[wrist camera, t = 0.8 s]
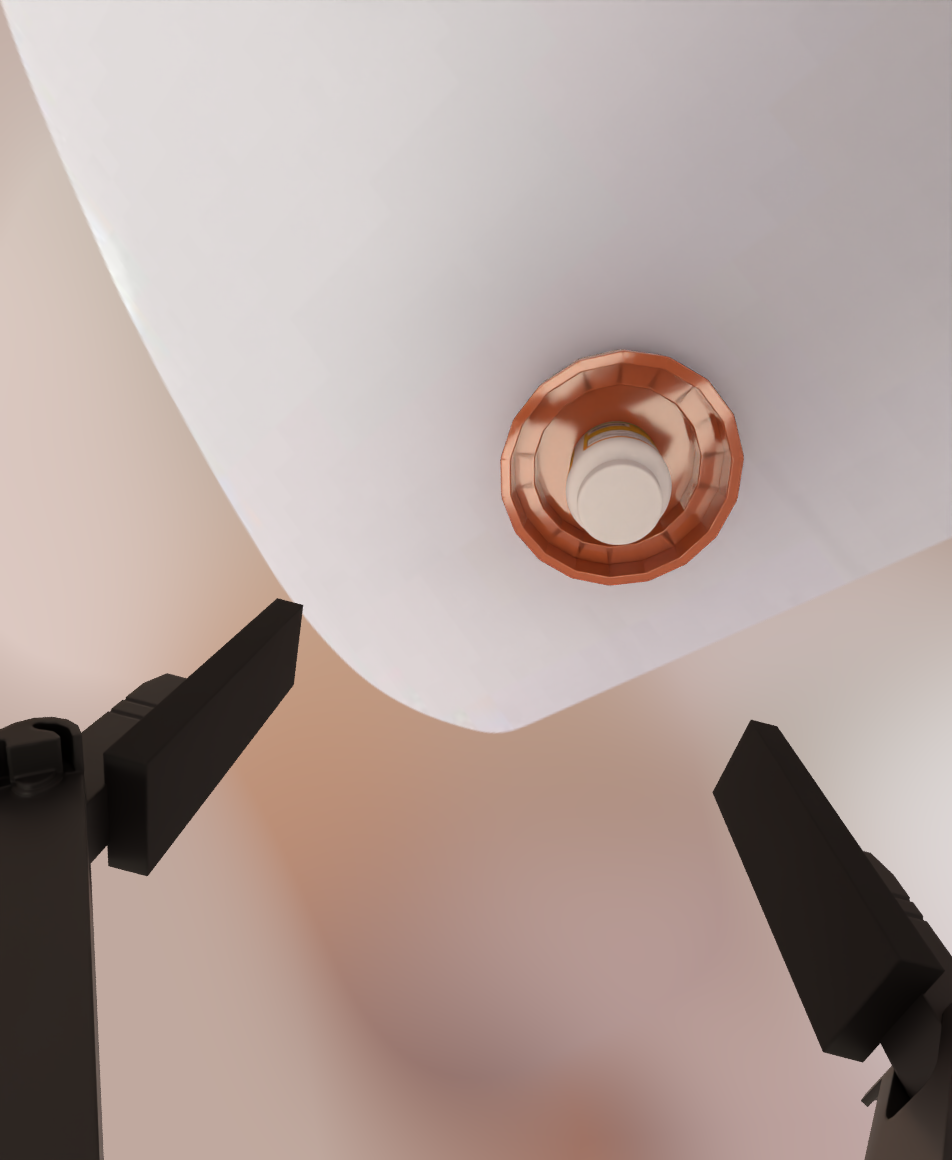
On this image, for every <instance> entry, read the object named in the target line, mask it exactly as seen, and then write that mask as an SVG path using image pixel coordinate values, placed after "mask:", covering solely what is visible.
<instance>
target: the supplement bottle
mask: <svg viewBox="0 0 952 1160" xmlns="http://www.w3.org/2000/svg"><path fill="white" fill-rule="evenodd" d="M671 488H672V484H671V476H670V473H669V470H668V467H667V465H666V463H665V461H664V459H663V458H662V456H661V454H660V453H659V451H658V449H657V447H656V446H655V444H654V442H653V441H652V439H651V438H650V437H649V435H648V434H647V433H646V432H645V431H644V430H642V429H641V428H639V427H638V426H636V425H634V424H631V423H627V422H622V421H611V422H606V423H602V424H600V425H597V426H595V427H594V428H592V429H590V430H589V431H588V432H586V433H585V434H584V435H583V436H582V437H581V439H580V440H579V441H578V443H577V444H576V446H575V448H574V451H573V453H572V457H571V461H570V467H569V472H568V476H567V482H566V499H567V504H568V507H569V510H570V512H571V514H572V516H573V517H574V519H575V520H576V522H577V523H578V524H579V525H580V526H581V527H582V528H584V529H585V530H586V531H587V532H588V533H589V534H590V535H591V536H592V537H594V538H595V539H597V540H599V541H601V542H604V543H607V544H612V545H624V544H629V543H633V542H636V541H638V540H640V539H642V538H643V537H645V536H646V535H647V534H648V533H650V532H651V531H652V529H653V528H654V527H655V526H656V524H657V523H658V521H659V519H660V518H661V516H662V515H663V514H664V512H665V510H666V508H667V506H668V503H669V500H670V497H671Z"/></svg>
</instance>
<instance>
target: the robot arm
mask: <svg viewBox="0 0 952 1160" xmlns="http://www.w3.org/2000/svg"><path fill="white" fill-rule="evenodd" d="M302 610H303V605H301V604H297V603H293V602H289V601H285V600H282V599H278V598H277V599H276V600H275V601H274V602H273V603H271V604H270V605H269V606H268V607H267V608H266V609H265V610H264V611H262V612H261V613H260V614H259V615H258V616H257V617H256V618H255V619H253V620H252V621H251V622H250V623H249V624H248V625H247V626H246V627H244V628H243V629H242V630H241V631H240V632H239V633H238V634H236V635H235V636H234V637H233V638H232V639H231V640H230V641H229V642H228V643H226V644H225V645H224V646H223V647H222V648H221V649H220V650H218V651H217V652H216V653H215V654H214V655H213V656H212V657H211V658H210V659H208V660H207V661H206V662H205V663H204V664H203V665H202V666H200V667H199V668H198V669H197V670H196V671H195V672H194V673H193V674H191V675H190V676H189V677H188V678H183V677H179V676H175V675H171V674H164V675H162V676H159V677H157V678H155V679H152V680H150V681H147V682H145V683H143V684H142V685H141V686H139V687H138V688H137V689H136V690H134V691H133V692H132V693H131V694H129V695H128V696H127V697H126V699H125V700H122V701H121V702H119V703H118V704H117V705H116V706H114V707H113V708H112V709H111V711H110V712H107V713H106V714H104V715H103V716H102V717H101V718H99V719H98V720H97V721H96V722H94V723H93V724H92V725H91V726H89V727H88V728H87V729H86V730H84V731H83V732H82V733H81V731H80V729H79V727H78V725H76V724H74V723H73V722H71V721H69V720H67V719H61V718H56V717H43V718H32V719H28V720H24V721H20V722H16V723H13V724H11V725H9V726H7V727H5V728H3V729H0V1160H104V1156H103V1135H102V1134H103V1133H102V1112H101V1088H100V1065H99V1045H98V1044H99V1042H98V1021H97V1020H98V1019H97V996H96V974H95V951H94V928H93V906H92V882H91V863H92V861H93V860H94V859H95V858H96V857H97V856H98V855H99V854H100V853H101V851H102V850H103V849H104V848H105V847H106V846H108V866H110V867H114V868H118V869H122V870H125V871H129V872H133V873H137V874H141V875H145V876H148V875H149V874H150V872H151V871H152V870H153V868H154V867H155V866H156V864H157V863H158V862H159V861H160V859H161V858H162V857H163V855H164V854H165V853H166V851H167V850H168V849H169V847H170V846H171V845H172V843H173V842H174V841H175V839H176V838H177V837H178V836H179V834H180V833H181V832H182V830H183V829H184V828H185V826H186V825H187V824H188V823H189V821H190V820H191V819H192V817H193V816H194V815H195V813H196V812H197V811H198V809H199V808H200V807H201V805H202V804H203V803H204V802H205V800H206V799H207V798H208V796H209V795H210V794H211V792H212V791H213V790H214V788H215V787H216V786H217V784H218V783H219V782H220V780H221V779H222V778H223V777H224V775H225V774H226V773H227V771H228V770H229V768H231V766H232V765H233V763H234V762H235V761H236V760H237V758H238V757H239V756H240V754H241V753H242V751H243V750H244V749H245V748H246V746H247V745H248V744H249V742H250V741H251V740H252V739H253V737H254V736H255V735H256V733H257V732H258V731H259V729H260V728H261V727H262V726H263V724H264V723H265V722H266V720H267V719H268V717H269V716H270V715H271V714H272V713H273V711H274V710H275V709H276V707H277V706H278V704H279V703H280V702H281V701H282V699H283V698H284V697H285V695H286V694H287V693H288V692H289V690H290V689H291V688H292V686H293V685H294V678H295V670H296V669H295V668H296V661H297V653H298V644H299V635H300V627H301V619H302ZM713 795H714V797H715V799H716V802H717V804H718V806H719V809H720V811H721V813H722V816H723V818H724V820H725V823H726V825H727V827H728V830H729V832H730V835H731V837H732V839H733V842H734V844H735V846H736V849H737V851H738V853H739V856H740V858H741V860H742V862H743V865H744V867H745V869H746V872H747V874H748V876H749V879H750V881H751V884H752V886H753V889H754V891H755V893H756V895H757V898H758V900H759V903H760V905H761V907H762V910H763V912H764V914H765V917H766V919H767V921H768V924H769V926H770V928H771V931H772V933H773V935H774V938H775V940H776V943H777V945H778V947H779V950H780V952H781V954H782V957H783V959H784V961H785V964H786V966H787V968H788V971H789V973H790V975H791V978H792V980H793V982H794V985H795V987H796V989H797V992H798V994H799V997H800V998H801V1001H802V1004H803V1006H804V1008H805V1011H806V1013H807V1015H808V1018H809V1020H810V1022H811V1024H812V1027H813V1029H814V1032H815V1034H816V1036H817V1039H818V1041H819V1043H820V1046H821V1048H822V1051H823V1052H825V1053H829V1054H832V1055H836V1056H840V1057H844V1058H848V1059H852V1060H856V1061H859V1062H864V1061H865V1060H866V1058H867V1057H868V1056H869V1055H870V1054H871V1053H872V1052H873V1050H874V1049H875V1048H876V1047H877V1046H878V1045H879V1044H880V1043H881V1045H882V1047H883V1049H884V1051H885V1053H886V1055H887V1057H888V1058H889V1060H890V1062H891V1064H892V1066H891V1067H890V1068H889V1070H888V1071H887V1072H886V1073H885V1074H884V1075H883V1076H882V1077H881V1078H880V1079H879V1080H878V1081H877V1082H876V1083H875V1084H874V1085H873V1087H872V1088H871V1089H870V1090H869V1091H868V1092H867V1093H866V1094H865V1096H864V1097H863V1099H862V1100H861V1101H862V1102H863V1103H864V1104H865V1105H866V1106H867V1107H868V1106H869V1105H870V1104H871V1103H872V1102H873V1101H874V1100H877V1104H876V1109H875V1113H874V1118H873V1123H872V1127H871V1132H870V1137H869V1141H868V1146H867V1151H866V1156H865V1160H952V956H951V955H950V953H949V952H948V950H947V949H946V948H945V947H944V945H943V943H942V942H941V941H940V939H939V938H938V936H937V935H936V934H935V932H934V931H933V929H932V928H931V927H930V925H929V924H928V922H927V921H924V920H923V915H922V914H921V913H920V911H919V910H918V908H917V907H916V906H915V904H914V903H913V902H910V900H909V899H910V897H909V896H908V895H907V893H906V892H905V890H904V889H903V888H902V886H901V885H900V883H899V882H898V881H897V879H896V878H895V876H894V875H893V874H892V873H891V872H890V871H889V870H888V869H887V868H886V867H885V866H884V865H883V864H882V863H881V862H880V861H879V860H877V859H876V858H875V857H874V856H873V855H872V854H871V853H869V852H865V851H862V849H861V848H860V846H859V845H858V843H857V842H856V840H855V839H854V837H853V836H852V835H851V833H850V832H849V830H848V829H847V827H846V826H845V824H844V823H843V822H842V820H841V819H840V817H839V816H838V814H837V813H836V811H835V810H834V808H833V807H832V805H831V804H830V803H829V801H828V800H827V798H826V797H825V795H824V794H823V792H822V791H821V789H820V788H819V787H818V785H817V784H816V782H815V781H814V779H813V778H812V776H811V775H810V773H809V772H808V771H807V769H806V768H805V766H804V765H803V763H802V762H801V760H800V759H799V757H798V756H797V755H796V753H795V752H794V750H793V749H792V747H791V746H790V744H789V743H788V742H787V740H786V739H785V737H784V736H783V734H782V733H781V731H780V730H779V729H778V727H777V726H774V725H770V724H765V723H761V722H758V721H754V720H751V721H750V722H749V724H748V726H747V728H746V730H745V732H744V734H743V736H742V738H741V739H740V741H739V743H738V745H737V747H736V749H735V751H734V753H733V755H732V757H731V758H730V760H729V762H728V764H727V766H726V768H725V770H724V772H723V774H722V776H721V777H720V779H719V781H718V783H717V785H716V787H715V789H714V791H713Z"/></svg>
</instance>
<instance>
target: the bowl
mask: <svg viewBox="0 0 952 1160" xmlns="http://www.w3.org/2000/svg"><path fill="white" fill-rule="evenodd" d="M611 421H622V422H627V423H631V424H634V425H636V426H638V427H639V428H641V429H642V430H644V431H645V432H646V433H647V434H648V435H649V437H650V438H651V439H652V441H653V442H654V444H655V446H656V447H657V449H658V451H659V453H660V454H661V456H662V458H663V459H664V461H665V463H666V465H667V467H668V470H669V473H670V476H671V484H672V488H671V497H670V500H669V503H668V506H667V508H666V510H665V512H664V514H663V515H662V516H661V518H660V519H659V521H658V523H657V524H656V526H655V527H654V528H653V529H652V531H651V532H650V533H648V534H647V535H646V536H645V537H643V538H642V539H640V540H638V541H636V542H633V543H629V544H624V545H612V544H607V543H604V542H601V541H599V540H597V539H595V538H594V537H592V536H591V535H590V534H589V533H588V532H587V531H586V530H585V529H584V528H582V527H581V526H580V525H579V524H578V523H577V522H576V520H575V519H574V517H573V516H572V514H571V512H570V510H569V507H568V504H567V499H566V482H567V476H568V472H569V467H570V461H571V457H572V453H573V451H574V448H575V446H576V444H577V443H578V441H579V440H580V439H581V437H582V436H583V435H584V434H585V433H586V432H588V431H589V430H590V429H592V428H594V427H595V426H597V425H600V424H602V423H606V422H611ZM743 457H744V455H743V451H742V446H741V442H740V438H739V434H738V429H737V425H736V421H735V417H734V414H733V413H732V411H731V410H730V409H729V407H728V406H727V405H726V403H725V402H724V401H723V399H722V398H721V396H720V395H719V394H718V392H717V391H716V390H715V388H714V387H713V386H712V384H711V383H710V382H709V380H707V379H706V378H704V377H703V376H701V375H699V374H697V373H696V372H694V371H692V370H691V369H689V368H687V367H685V366H684V365H682V364H680V363H679V362H677V361H675V360H674V359H672V358H670V357H667V356H663V355H659V354H652V353H645V352H638V351H631V350H624V349H621V350H620V349H618V350H614V351H609V352H605V353H600V354H596V355H592V356H587V357H583V358H581V359H578V360H576V361H575V362H573V363H572V364H570V365H569V366H567V367H566V368H564V369H562V370H561V371H559V372H558V373H556V374H555V375H553V376H552V377H550V378H548V379H547V380H546V381H545V382H543V383H542V384H541V385H540V386H539V387H538V388H537V390H536V391H535V392H534V394H533V395H532V396H531V397H530V399H529V400H528V401H527V403H526V404H525V405H524V406H523V408H522V409H521V410H520V412H519V413H518V414H517V415H516V417H515V418H514V420H513V422H512V425H511V428H510V431H509V434H508V437H507V440H506V443H505V446H504V449H503V452H502V455H501V460H500V461H501V496H502V500H503V502H504V505H505V508H506V510H507V513H508V515H509V518H510V520H511V523H512V525H513V528H514V530H515V532H516V534H517V535H518V536H519V537H520V538H521V539H522V541H523V542H524V543H525V544H526V545H527V546H528V547H529V549H530V550H531V551H532V552H533V553H534V554H535V555H536V557H537V558H538V559H539V560H541V561H542V562H544V563H546V564H548V565H549V566H551V567H553V568H555V569H556V570H558V571H560V572H562V573H564V574H565V575H567V576H569V577H571V578H574V579H579V580H584V581H589V582H594V583H599V584H604V585H619V584H627V583H636V582H645V581H650V580H652V579H654V578H656V577H659V576H661V575H663V574H665V573H668V572H670V571H672V570H674V569H677V568H679V567H681V566H683V565H685V564H687V563H688V562H689V561H690V560H691V559H692V558H693V557H694V556H696V555H697V554H698V553H699V552H700V551H701V550H702V549H703V548H705V547H706V546H707V545H708V544H709V543H710V542H711V541H712V540H713V539H715V538H716V536H717V535H718V533H719V531H720V530H721V528H722V526H723V524H724V522H725V521H726V519H727V517H728V515H729V514H730V512H731V510H732V508H733V506H734V505H735V503H736V501H737V500H736V499H737V498H738V492H739V486H740V480H741V473H742V467H743V460H744V458H743Z"/></svg>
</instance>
